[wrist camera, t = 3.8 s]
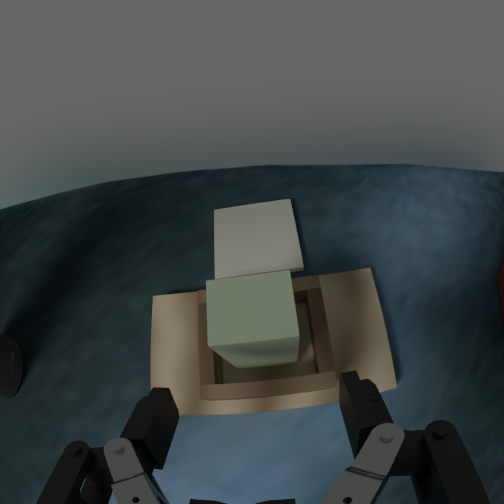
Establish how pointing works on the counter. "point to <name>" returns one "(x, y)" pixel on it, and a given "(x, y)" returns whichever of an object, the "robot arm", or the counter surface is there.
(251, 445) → the counter surface
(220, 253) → the white tile
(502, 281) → the plant pot
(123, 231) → the counter surface
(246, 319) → the sage block
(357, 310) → the puzzle board
